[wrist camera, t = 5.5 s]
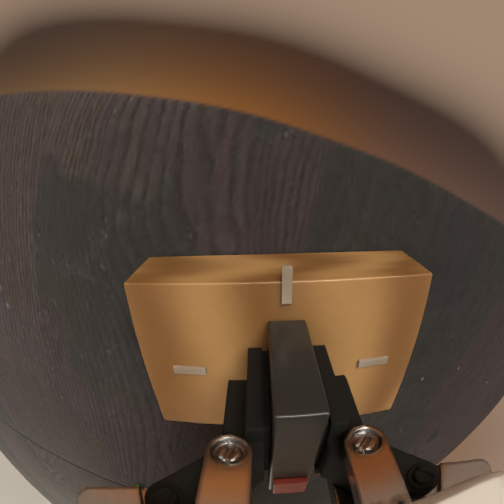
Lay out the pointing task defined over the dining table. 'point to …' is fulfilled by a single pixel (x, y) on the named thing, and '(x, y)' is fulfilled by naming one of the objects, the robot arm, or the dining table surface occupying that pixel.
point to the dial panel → (274, 309)
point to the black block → (294, 406)
